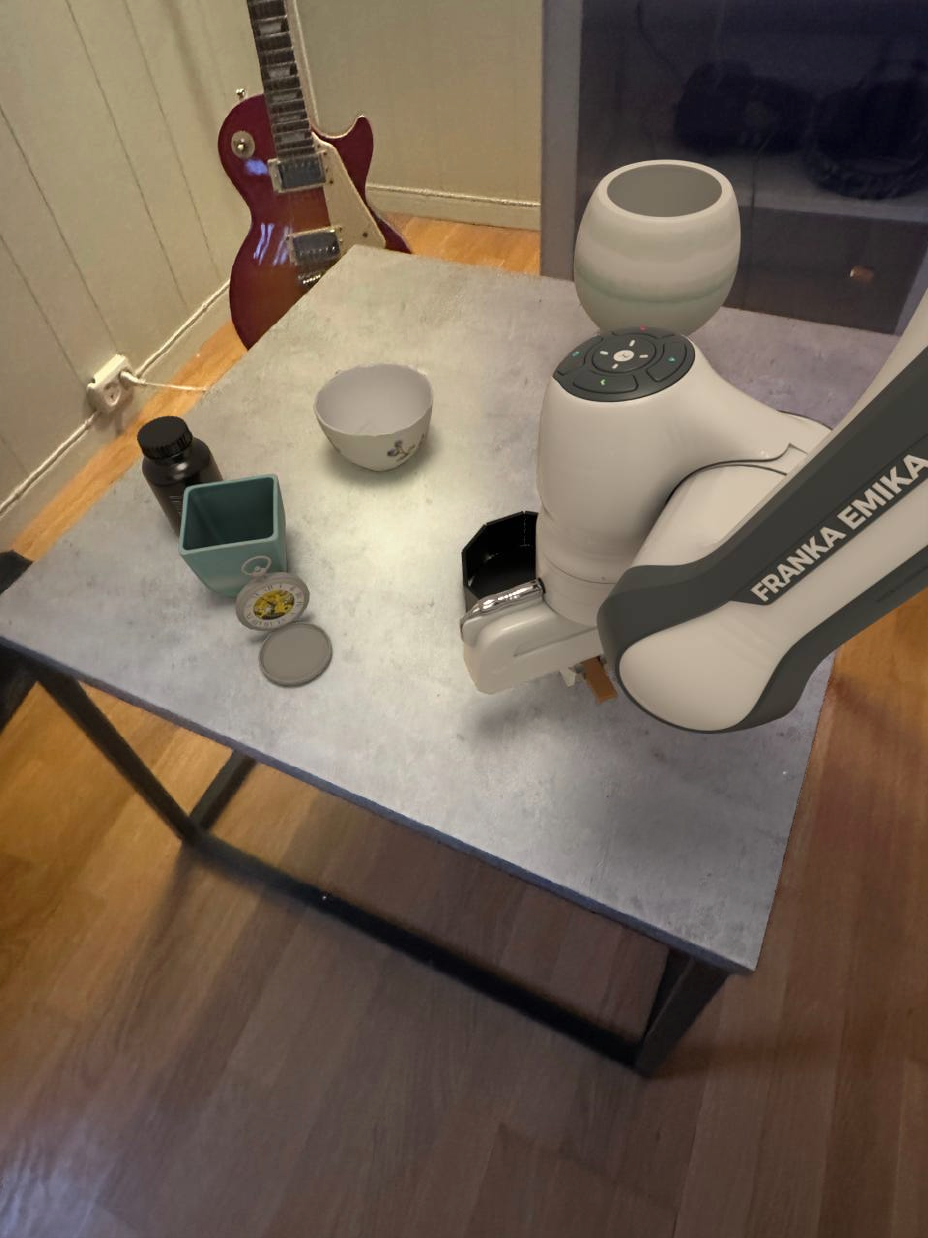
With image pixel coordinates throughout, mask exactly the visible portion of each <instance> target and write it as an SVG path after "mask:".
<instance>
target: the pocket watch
mask: <svg viewBox="0 0 928 1238" xmlns="http://www.w3.org/2000/svg"><path fill="white" fill-rule="evenodd" d="M260 558H263V559H266V560H267V561H268V565H267V566H266V568H260V567H259V566H257V567H255V571H254V572H253V573H247V572H246V571H245V570H244V569H245V566H246V565H247V564H248V563H249V562H250V561H252V560H254V559H260ZM270 565H271V559H270V558H269V557H267V556H256V557H253V558H251V559H249V560H247V561H246V562H245V563H244V564H243V566H242V567H241V571H242V573H243V574H244V575H247V576H253V577H256V579H254V580H252V581H251V582H249V583H248V584H247V585H246V586H245V587H244V588H243V589H242V590H241V591H240V593H239V594H238V596H236V599H235V604H234V605H235V606H234V608H235V615H236V618H237V620H238V621H239V623H240V624H241V625H242V626H244V627H246V628H247V629H249V630H253V631H258V632H265V631H266V632H267V631H272V632H271V633H269V634H268V636H266V637H265V639H264V640H263V642H262V643H261V646H260V648H259V650H258V658H257V659H258V665H259V667H260V671H262V673H263V674H264V676H265V677H266V678H268V680H269V681H272V682H275V683H277V684H279V685H286V686H295V685H300V684H303V683H306V682H309V681H310V680H312V679H314V678H316V677H317V676H319V674H321V673H322V672H323V671H324V670H325V668H326V667H327V666H328V664H329V662H330V660H331V656H332V651H333V650H332V649H333V648H332V641H331V639H330V637H329V634H328V633H327V632H326V631H325V629H323V628H322V627H321V626H320V625H317V624H315V623H314V622H313V623H312V622H308V621H296V620H297V619H298V618H299V617H301V616H302V615H303V613H304V612H305V611H306V610H307V608H308V605H309V602H310V597H311V592H310V589H309V587H308V585H307V584H306V583H305V581H304V580H303V579H302V578H300V577H299V576H298V575H296V574H293V573H291V572H287V571H286V572H274V573H269V574H266V571H267V569H268V568H269V567H270ZM289 596H290V598H288V597H289ZM267 608H268V609H269V610H267ZM266 610H267V611H266ZM295 621H296V622H295Z"/></svg>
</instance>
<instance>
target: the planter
mask: <svg viewBox="0 0 928 1238" xmlns="http://www.w3.org/2000/svg"><path fill="white" fill-rule="evenodd" d="M578 228H579V229H578V231H577V236H576V242H575V246H574V255H573V280H574V287H575V291H576V294H577V298H578V301H579V302H580V305H581V307H582V309H583V310H584V312H585V313H586V315H587V317H588V318H589V319H590V321H592V322H593V323H594V325H595V326H596V327H598V329H599V330H598V333H597V335H600V334H603V333H606V332H609V331H613V330H615V329H619V328H625V327H635V326H647V327H658V328H664V329H668V330H671V331H674V332H677V333H679V334H682V335H683V336H685V337H688V336H690V335H692V334H693V333H695V332H697V331H698V330H699V329H701V328H702V327H703V326H705V325H706V324H707V323H708V322H709V321H710V320H711V319H712V318H713V317H714V316H716V314H717V313H718V311H720V309H721V307H722V306H723V304H724V303H725V302H726V300H727V298H728V296H729V294H730V291H731V290H732V287H733V284H734V281H735V278H736V275H737V271H738V266H739V260H740V253H741V237H742V235H741V233H742V232H741V219H740V210H739V205H738V201H737V197H736V193H735V191H734V188H733V186H732V184H731V181H729V179H728V178H727V177H726V176H725V175H723V174H722V173H721V172H719V171H718V170H716V169H714V168H712V167H709V166H706V165H704V164H701V163H697V162H692V161H687V160H680V159H651V160H643V161H639V162H634V163H630V164H627V165H623V166H621V167H618V168H617V169H615V170H613V171H611V172H609V173H608V174H607V175H605V176H604V177H603V178H602V179H601V180H600V181H599V183H598V184H597V186H596V187H595V189H594V191H593V193H592V194H591V197H590V199H589V200H588V202H587V205H586V207H585V210H584V212H583V215H582V218H581V221H580V224H579V227H578Z"/></svg>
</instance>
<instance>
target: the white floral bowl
mask: <svg viewBox="0 0 928 1238" xmlns="http://www.w3.org/2000/svg"><path fill="white" fill-rule="evenodd" d="M334 373H335V374H334V375H333V376H332V377H331V378H330V379H328V380H326V381H325V383H324V384H323V386H322V387H321V388H320V389H319V390H318V391H317V392H316V394H315V397H314V401H313V402H314V403H313V406H312V408H313V412H314V416H315V417H316V420H317V422H318V424H319V428H321V430H322V432H323V434H324V435H325V437H326V438H327V440H328V442H329V443H330V444H331V445H332V447H333V448H334V449H335V450H336V451H337V452H338V453H339V454H340V455H341V456H342V457H344V458H345V459H347V460H348V461H350V462H351V463H354V464H355V465H358V466H360V467H363V468H365V469H367V470H370V471H373V472H386V471H391V470H394V469H397V468H399V467H400V466H401V465H402V464H404V463H406V462H407V461H408V460H409V458H411V457H412V456H413V455H414V454H415V452H416V451H418V449H419V448H420V447H421V445H422V443H423V442H424V440H425V438H426V436H427V433H428V430H429V427H430V424H431V419H432V415H433V404H434V391H433V387H432V383H431V381H430V380H429V378H427V376H426V375H425V374H424V373H423V372H420V371H419V370H418V369H415V368H413V367H411V366H409V365H407V364H403V363H398V362H394V361H391V362H390V361H389V362H388V361H387V362H386V361H385V362H384V361H383V362H382V361H381V362H380V361H379V362H378V361H377V362H376V361H375V362H373V363H371V364H368V365H365V364H362V365H361V364H360V365H359V364H358V365H355V366H350V367H348V368H346V369H338V370H336V371H335V372H334Z"/></svg>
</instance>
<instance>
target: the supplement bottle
mask: <svg viewBox="0 0 928 1238" xmlns="http://www.w3.org/2000/svg"><path fill="white" fill-rule="evenodd" d="M136 441H137V444H138V446H139V448H140V450H141V453H142V455H143V459H142V462H141V472H142V475H143V477H144V479H145V481H146V482H147V484H148V486H149V488H150V490H151V491H152V494H153V495H154V497H155V499H156V500H157V503H158V504H159V506H160V508H161V509H162V511H163V513H164V515H165V516H166V518H167V521H168V522H169V524H170V525H171V527H172V529H173V530H174V533H176V535H178V536H179V537H180V530H181V522H182V511H183V498H184V491H185V489H186V488H187V487H190V486H194V485H199V484H208V483H213V482H220V481H225V479H224V477H223V474H222V472H221V470H220V469H219V466H218V464H217V462H216V460H215V457H214V454H213V452H212V451H211V449H210V447H209V446H208V445H207V443H205V442H204V441H203V440H201V439H200V438H197V437H195V436H194V435H193V433H192V431H191V430H190V428H189V426H188V423H187V422H186V421H185V420H184V419H183V418H181V417H179V416H177V415H163V416H158V417H156V418H153V419H151V420H149V421H148V422H146V423H145V424H144V425H142V426H141V428H139V429H138V432H137V434H136Z"/></svg>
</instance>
